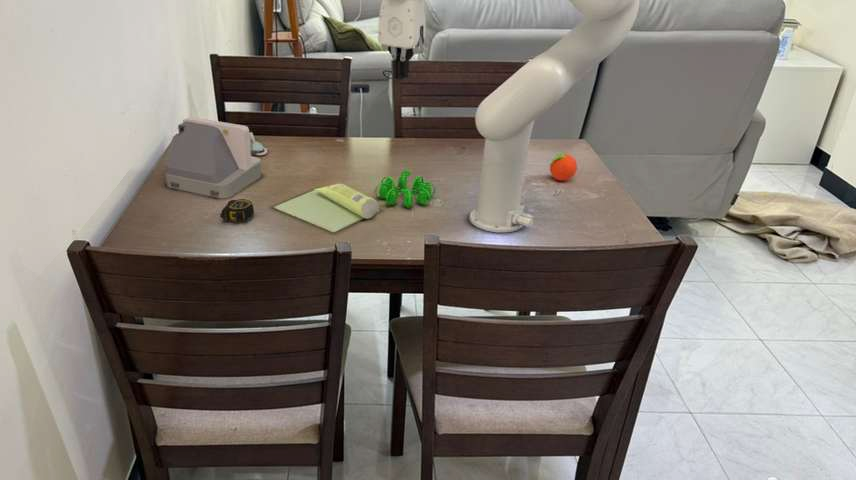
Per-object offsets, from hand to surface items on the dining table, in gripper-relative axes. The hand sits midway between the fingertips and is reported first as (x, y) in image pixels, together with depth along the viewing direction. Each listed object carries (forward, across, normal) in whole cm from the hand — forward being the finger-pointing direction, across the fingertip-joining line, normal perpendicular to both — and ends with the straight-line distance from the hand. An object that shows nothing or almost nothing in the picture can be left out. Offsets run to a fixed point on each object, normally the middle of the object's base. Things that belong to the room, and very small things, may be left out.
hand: (401, 77), depth 153 cm
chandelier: (+30, +1, +2) cm, 30 cm away
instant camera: (+29, -44, -22) cm, 57 cm away
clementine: (+31, +25, +39) cm, 56 cm away
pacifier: (+29, -51, 0) cm, 59 cm away
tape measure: (+30, -22, -34) cm, 50 cm away
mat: (+30, -10, -16) cm, 35 cm away
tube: (+27, +3, -14) cm, 30 cm away
